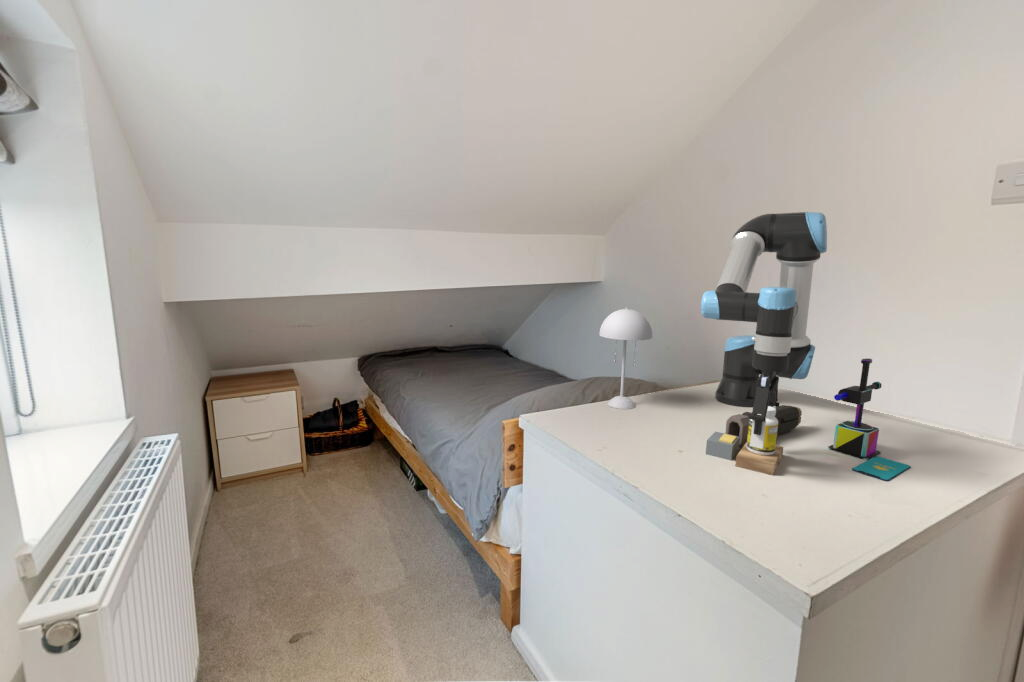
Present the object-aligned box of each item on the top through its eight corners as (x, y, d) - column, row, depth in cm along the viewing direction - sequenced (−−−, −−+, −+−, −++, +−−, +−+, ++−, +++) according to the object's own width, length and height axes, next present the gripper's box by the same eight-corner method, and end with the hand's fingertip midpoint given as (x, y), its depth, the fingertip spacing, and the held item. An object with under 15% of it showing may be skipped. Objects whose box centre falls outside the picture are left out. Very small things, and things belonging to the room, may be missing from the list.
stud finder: (713, 445, 127) (715, 430, 126) (738, 451, 123) (740, 435, 123) (705, 455, 120) (707, 438, 120) (730, 461, 117) (732, 444, 116)
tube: (808, 443, 137) (746, 449, 122) (784, 441, 143) (722, 447, 128) (805, 405, 139) (744, 406, 123) (782, 404, 144) (720, 406, 129)
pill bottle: (740, 448, 118) (744, 405, 116) (759, 445, 120) (763, 402, 119) (761, 457, 112) (766, 412, 111) (780, 454, 115) (785, 410, 113)
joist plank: (747, 448, 125) (748, 439, 124) (782, 456, 120) (783, 446, 120) (735, 465, 114) (736, 456, 113) (773, 475, 109) (774, 464, 108)
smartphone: (912, 465, 115) (887, 479, 107) (911, 468, 115) (887, 483, 107) (876, 455, 121) (850, 468, 112) (876, 458, 121) (850, 471, 113)
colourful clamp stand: (861, 463, 117) (875, 365, 113) (821, 450, 124) (833, 359, 120) (900, 443, 130) (914, 356, 126) (862, 433, 138) (874, 350, 134)
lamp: (588, 398, 168) (593, 305, 163) (634, 397, 171) (639, 305, 166) (607, 413, 151) (612, 310, 146) (656, 411, 155) (663, 310, 149)
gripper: (763, 344, 124) (754, 422, 128) (742, 358, 105) (733, 450, 108) (796, 347, 120) (786, 428, 123) (781, 363, 100) (770, 458, 104)
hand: (761, 438), depth 116 cm, fingers open, 13 cm apart
